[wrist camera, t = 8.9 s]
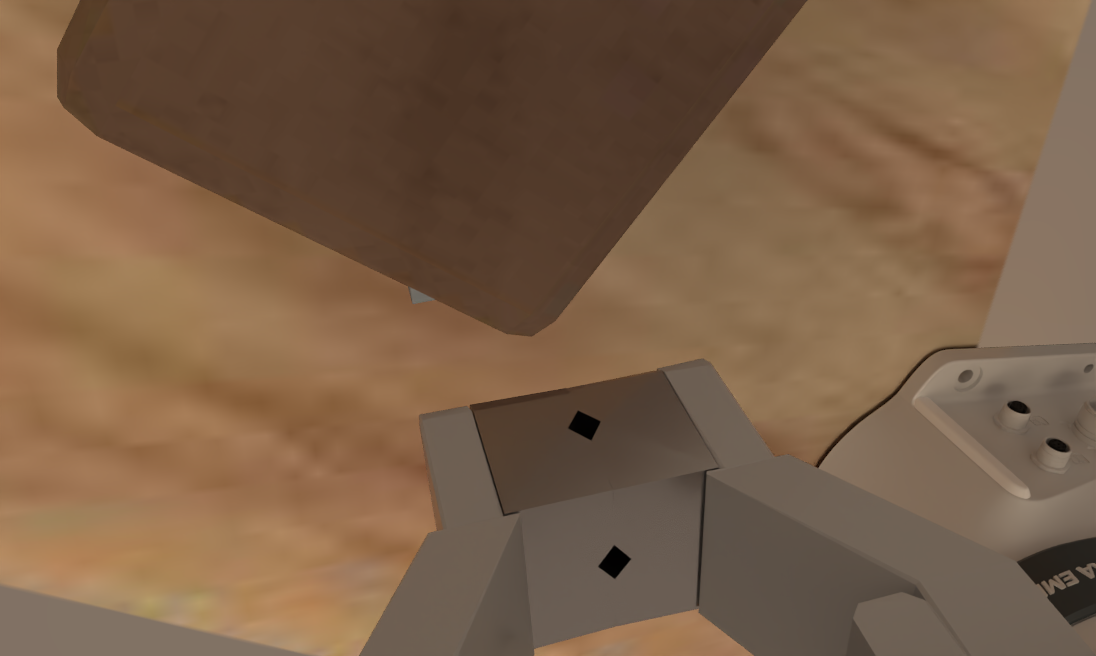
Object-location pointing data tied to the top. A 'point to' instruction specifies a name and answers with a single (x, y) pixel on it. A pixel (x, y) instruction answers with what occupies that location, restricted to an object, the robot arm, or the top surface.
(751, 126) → the top surface
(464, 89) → the wooden block
